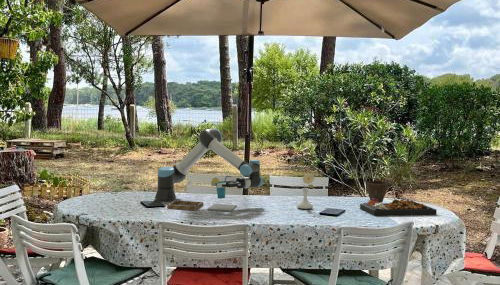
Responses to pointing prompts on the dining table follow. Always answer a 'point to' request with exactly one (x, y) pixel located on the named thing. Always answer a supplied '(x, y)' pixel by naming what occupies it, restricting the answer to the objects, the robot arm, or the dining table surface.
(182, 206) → the wooden picture frame
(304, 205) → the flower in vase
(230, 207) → the board
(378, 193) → the plant pot
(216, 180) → the cup
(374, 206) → the food platter
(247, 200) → the dining table surface
